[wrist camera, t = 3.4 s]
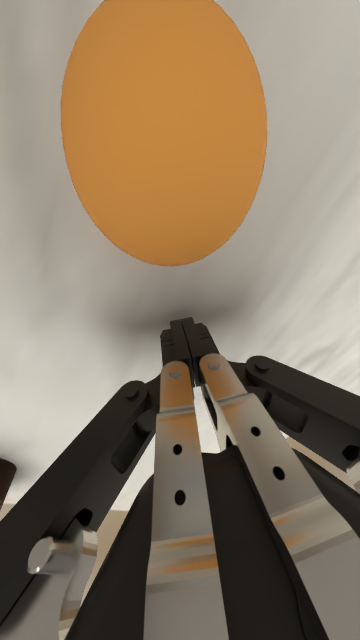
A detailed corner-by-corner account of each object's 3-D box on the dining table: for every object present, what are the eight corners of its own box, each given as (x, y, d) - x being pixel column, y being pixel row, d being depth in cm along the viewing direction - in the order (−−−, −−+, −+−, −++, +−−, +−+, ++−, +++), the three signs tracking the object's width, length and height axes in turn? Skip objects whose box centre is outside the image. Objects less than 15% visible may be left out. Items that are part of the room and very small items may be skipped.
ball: (70, 97, 7) (-178, -253, 2) (223, 78, 7) (416, -273, 2) (120, 258, 10) (89, 308, 5) (222, 241, 10) (293, 270, 5)
